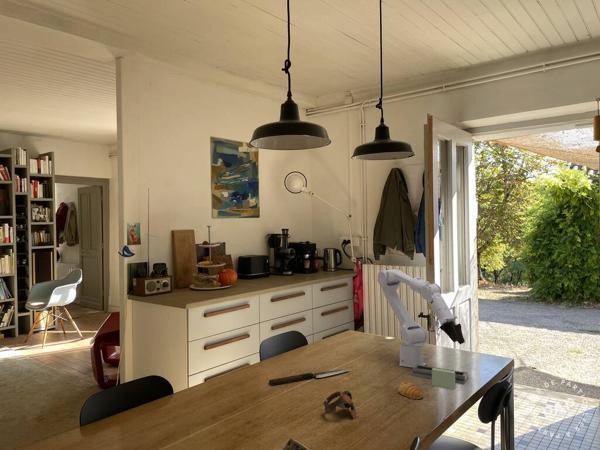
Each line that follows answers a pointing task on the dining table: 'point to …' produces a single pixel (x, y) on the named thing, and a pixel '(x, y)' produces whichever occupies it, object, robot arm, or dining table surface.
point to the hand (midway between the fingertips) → (459, 342)
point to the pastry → (410, 390)
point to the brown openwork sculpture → (340, 402)
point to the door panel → (443, 378)
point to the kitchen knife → (303, 377)
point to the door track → (427, 371)
